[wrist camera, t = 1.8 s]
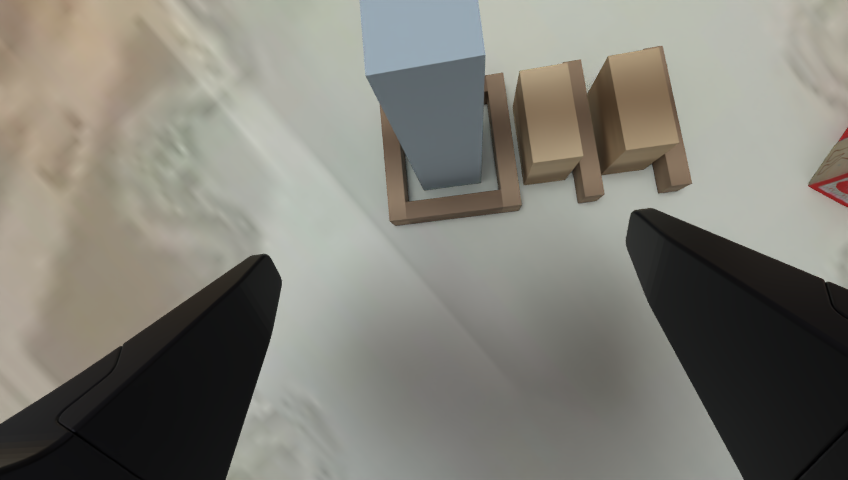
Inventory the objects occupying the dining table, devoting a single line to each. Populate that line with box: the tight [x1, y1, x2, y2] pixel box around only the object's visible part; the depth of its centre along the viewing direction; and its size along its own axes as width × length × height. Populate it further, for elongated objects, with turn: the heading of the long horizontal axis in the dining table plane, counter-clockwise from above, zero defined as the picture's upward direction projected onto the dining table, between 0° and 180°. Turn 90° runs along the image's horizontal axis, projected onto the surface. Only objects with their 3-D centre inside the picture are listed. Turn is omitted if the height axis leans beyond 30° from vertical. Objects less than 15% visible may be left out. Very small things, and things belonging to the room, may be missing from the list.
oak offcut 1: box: [513, 63, 583, 185], centre depth 21 cm, size 5×2×4 cm, turn 6°
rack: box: [380, 46, 692, 226], centre depth 22 cm, size 8×16×2 cm, turn 96°
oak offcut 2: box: [587, 48, 679, 175], centre depth 20 cm, size 5×2×4 cm, turn 6°
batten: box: [360, 0, 485, 190], centre depth 17 cm, size 4×4×12 cm
